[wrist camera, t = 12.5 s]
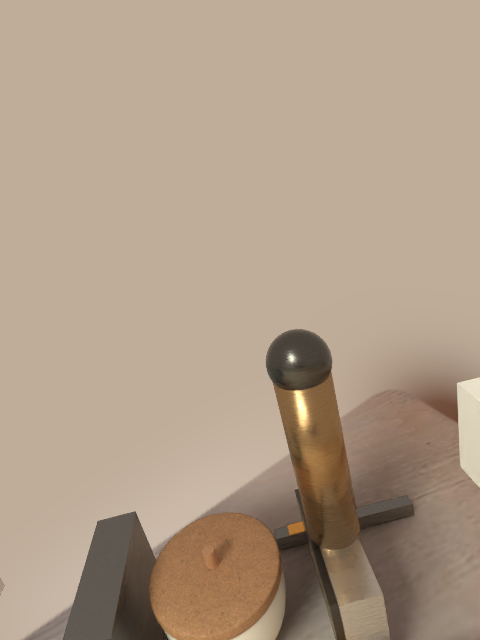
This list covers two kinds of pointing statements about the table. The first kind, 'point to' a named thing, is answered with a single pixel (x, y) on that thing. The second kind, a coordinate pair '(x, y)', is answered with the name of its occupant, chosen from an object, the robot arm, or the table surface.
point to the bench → (136, 567)
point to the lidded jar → (220, 581)
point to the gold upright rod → (325, 484)
